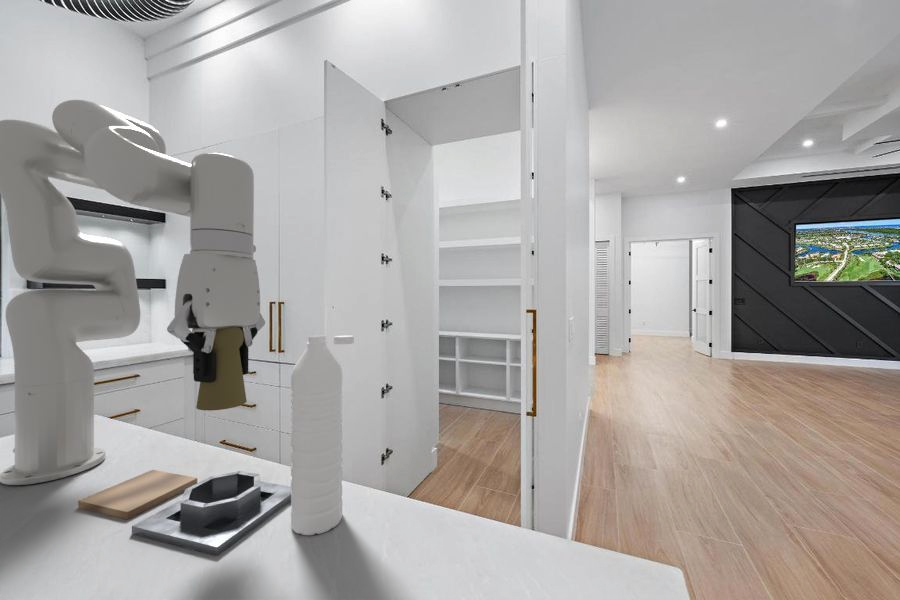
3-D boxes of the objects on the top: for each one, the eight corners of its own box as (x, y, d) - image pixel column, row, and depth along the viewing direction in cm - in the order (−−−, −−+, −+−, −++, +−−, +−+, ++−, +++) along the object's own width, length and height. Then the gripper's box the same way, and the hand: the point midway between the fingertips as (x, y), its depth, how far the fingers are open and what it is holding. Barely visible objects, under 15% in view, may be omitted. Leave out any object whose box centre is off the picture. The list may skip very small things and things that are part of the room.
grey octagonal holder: (131, 533, 47) (131, 506, 47) (227, 481, 60) (227, 460, 60) (217, 555, 43) (217, 525, 43) (299, 494, 56) (299, 471, 56)
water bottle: (279, 530, 47) (279, 336, 47) (313, 504, 53) (313, 332, 53) (336, 545, 44) (336, 338, 44) (365, 515, 50) (365, 334, 51)
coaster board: (78, 507, 52) (78, 500, 52) (152, 475, 62) (152, 469, 62) (127, 519, 50) (127, 512, 50) (197, 484, 59) (197, 477, 59)
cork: (223, 411, 48) (223, 327, 48) (184, 408, 49) (184, 326, 49) (256, 399, 54) (256, 324, 54) (221, 397, 55) (221, 323, 55)
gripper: (250, 255, 60) (249, 365, 61) (137, 238, 44) (136, 389, 44) (288, 254, 58) (287, 368, 58) (183, 236, 42) (182, 394, 42)
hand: (222, 376), depth 51 cm, fingers closed on cork, 4 cm apart
